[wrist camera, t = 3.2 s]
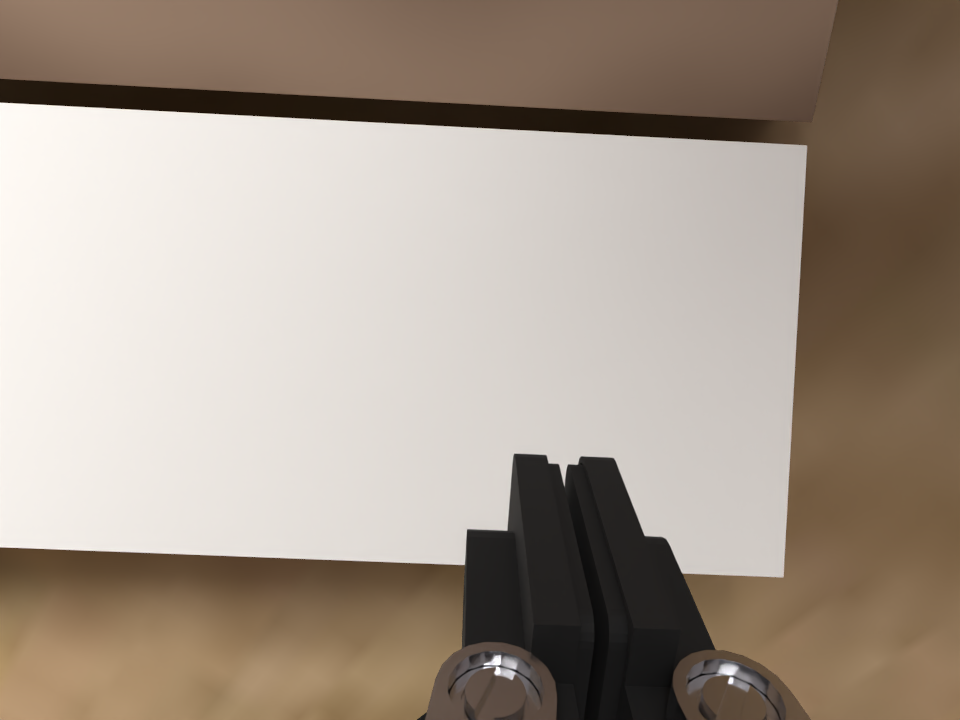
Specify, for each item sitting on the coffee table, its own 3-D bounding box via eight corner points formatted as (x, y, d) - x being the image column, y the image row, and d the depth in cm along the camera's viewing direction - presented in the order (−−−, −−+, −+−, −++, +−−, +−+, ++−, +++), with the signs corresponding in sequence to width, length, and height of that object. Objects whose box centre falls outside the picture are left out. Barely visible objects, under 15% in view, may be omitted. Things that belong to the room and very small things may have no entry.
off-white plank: (-177, 119, 17) (-263, 88, 15) (767, 168, 17) (806, 145, 15) (-187, 514, 17) (-273, 536, 15) (747, 551, 18) (783, 577, 16)
